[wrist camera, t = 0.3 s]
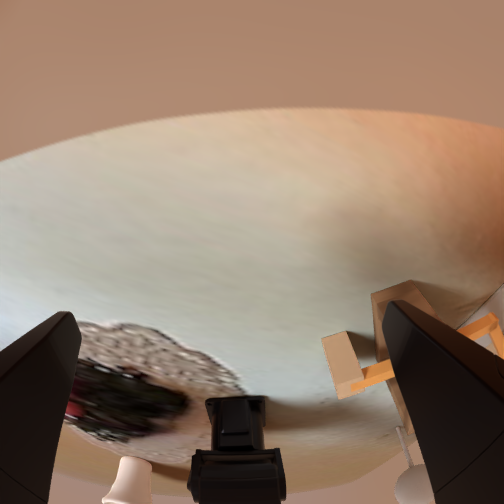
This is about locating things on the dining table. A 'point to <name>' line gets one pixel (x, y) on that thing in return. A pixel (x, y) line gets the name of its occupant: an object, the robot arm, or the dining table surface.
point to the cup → (131, 483)
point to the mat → (498, 303)
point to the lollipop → (413, 481)
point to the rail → (356, 379)
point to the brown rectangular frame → (379, 304)
